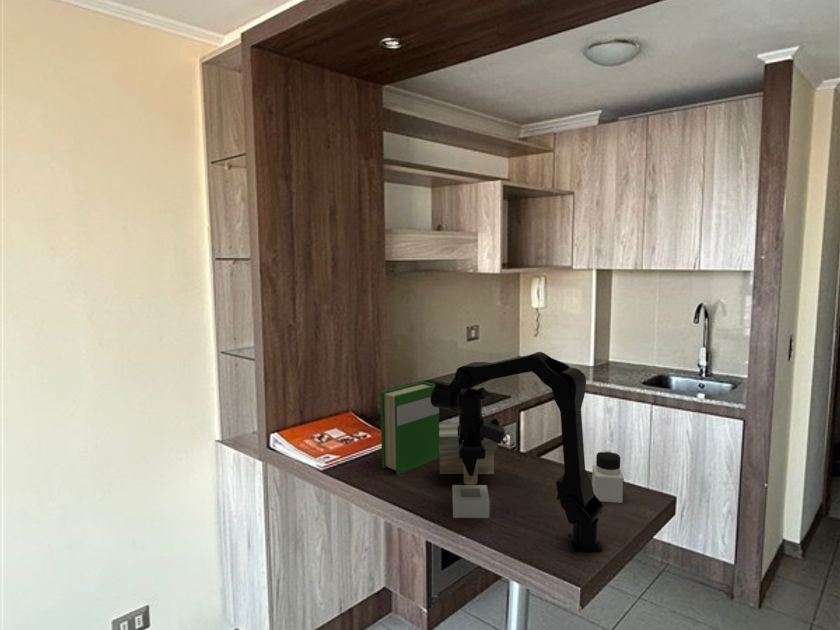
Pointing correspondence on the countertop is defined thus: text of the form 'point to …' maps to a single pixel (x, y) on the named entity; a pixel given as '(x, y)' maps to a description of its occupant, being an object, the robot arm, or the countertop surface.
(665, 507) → the countertop surface
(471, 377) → the robot arm
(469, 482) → the peg
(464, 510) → the socket block
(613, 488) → the medicine bottle
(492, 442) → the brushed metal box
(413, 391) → the hardback book
